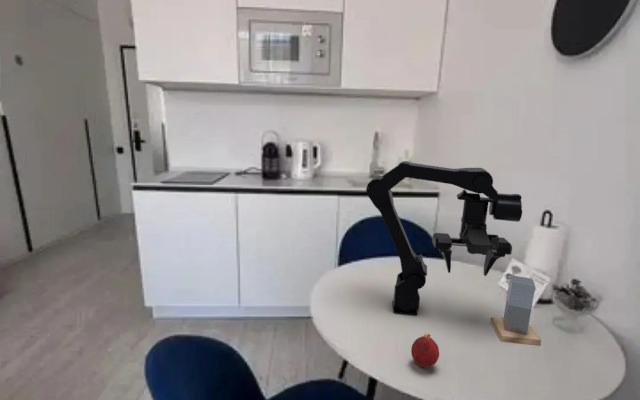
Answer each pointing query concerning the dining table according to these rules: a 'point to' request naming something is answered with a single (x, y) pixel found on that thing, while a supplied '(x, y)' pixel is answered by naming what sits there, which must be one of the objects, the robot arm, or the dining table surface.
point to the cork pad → (514, 337)
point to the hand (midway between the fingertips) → (466, 273)
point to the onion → (425, 351)
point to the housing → (518, 304)
